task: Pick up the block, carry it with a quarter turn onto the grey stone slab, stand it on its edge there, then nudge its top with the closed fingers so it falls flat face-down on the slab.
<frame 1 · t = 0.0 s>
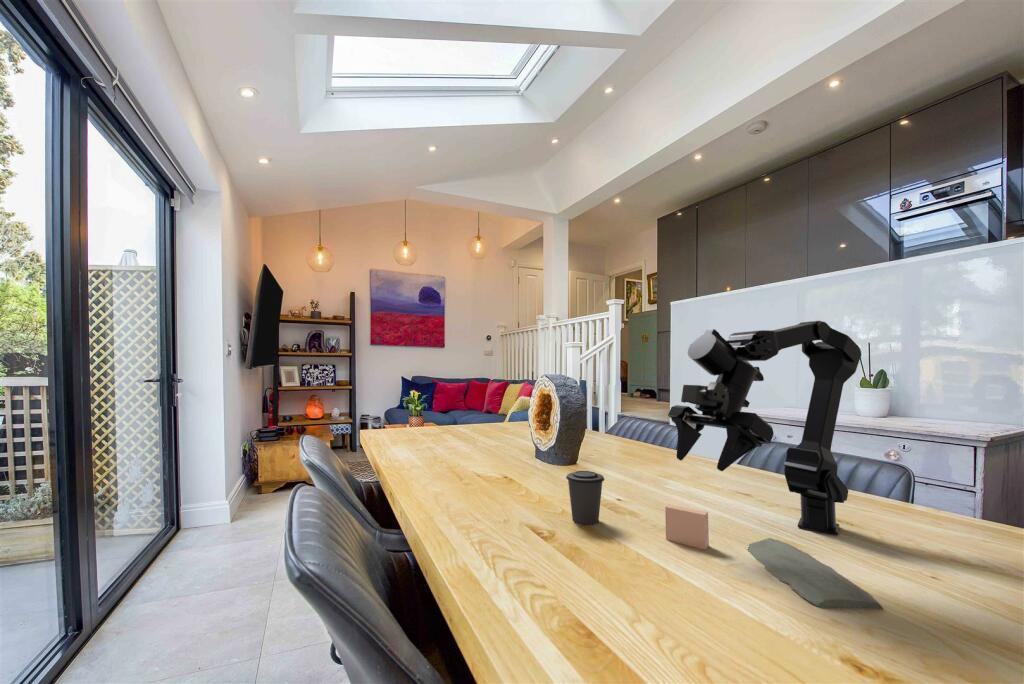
hand: (698, 464, 76), 15 cm above the table, tool tilted 35°, fingers open, 9 cm apart
coffee cup: (585, 521, 89), on the table
stone slab: (797, 575, 68), on the table
block: (687, 542, 78), on the table
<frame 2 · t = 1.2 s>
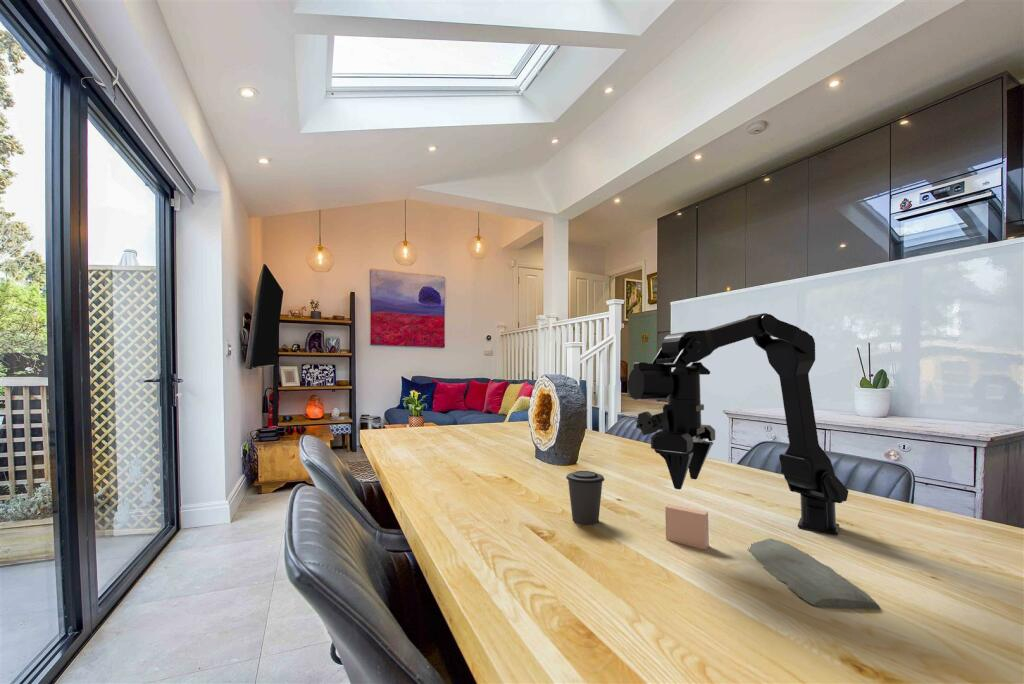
hand: (686, 483, 79), 11 cm above the table, tool pointing down, fingers open, 9 cm apart
nothing on the table moved.
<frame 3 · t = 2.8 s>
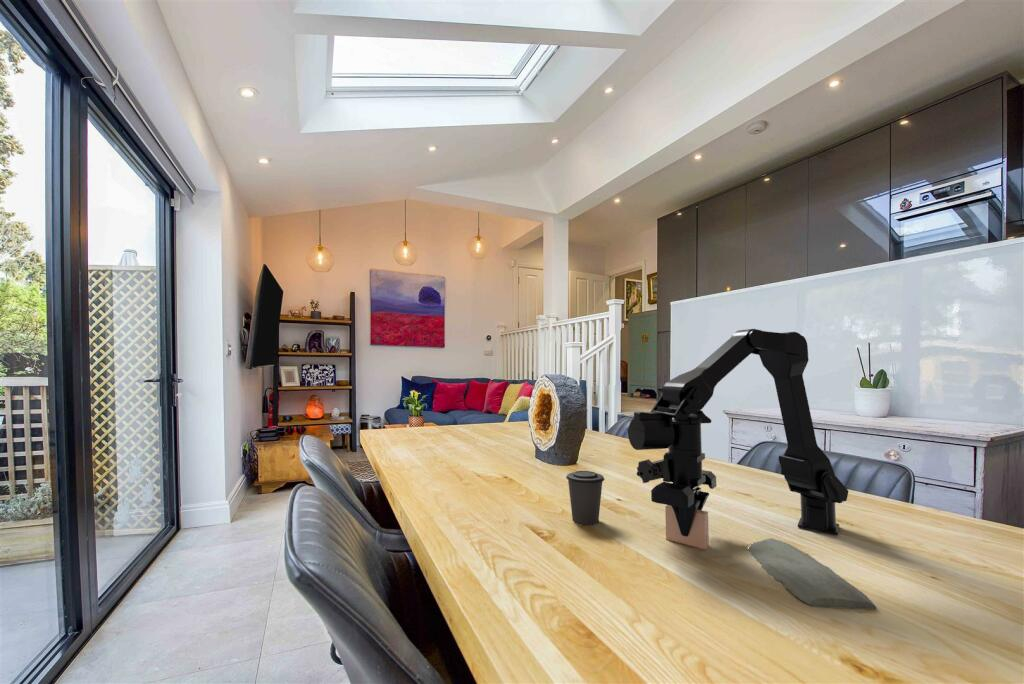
hand: (686, 533, 78), 2 cm above the table, tool pointing down, fingers closed on block, 2 cm apart
block: (687, 542, 78), on the table, touching gripper
everything else where it was.
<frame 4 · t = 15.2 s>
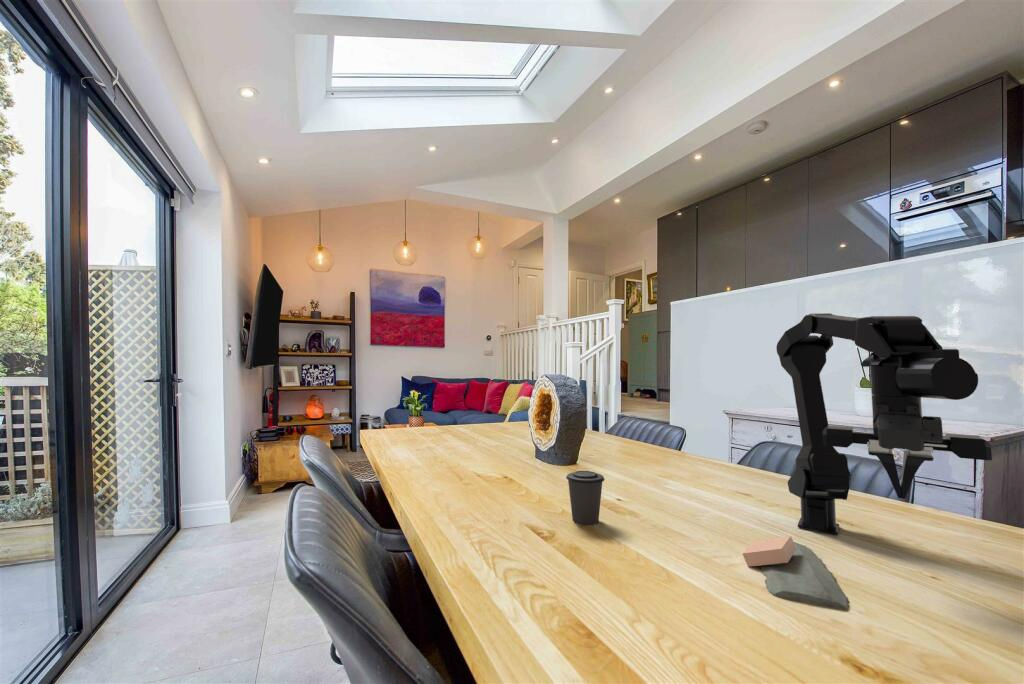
hand: (901, 498, 65), 12 cm above the table, tool pointing down, fingers closed
block: (789, 548, 68), point 3 cm above the table, tilted 112°
at the end: block tilted 112°; block inside the target area (1.0 cm from its centre), point 3.2 cm above the table; the gripper is holding nothing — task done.
